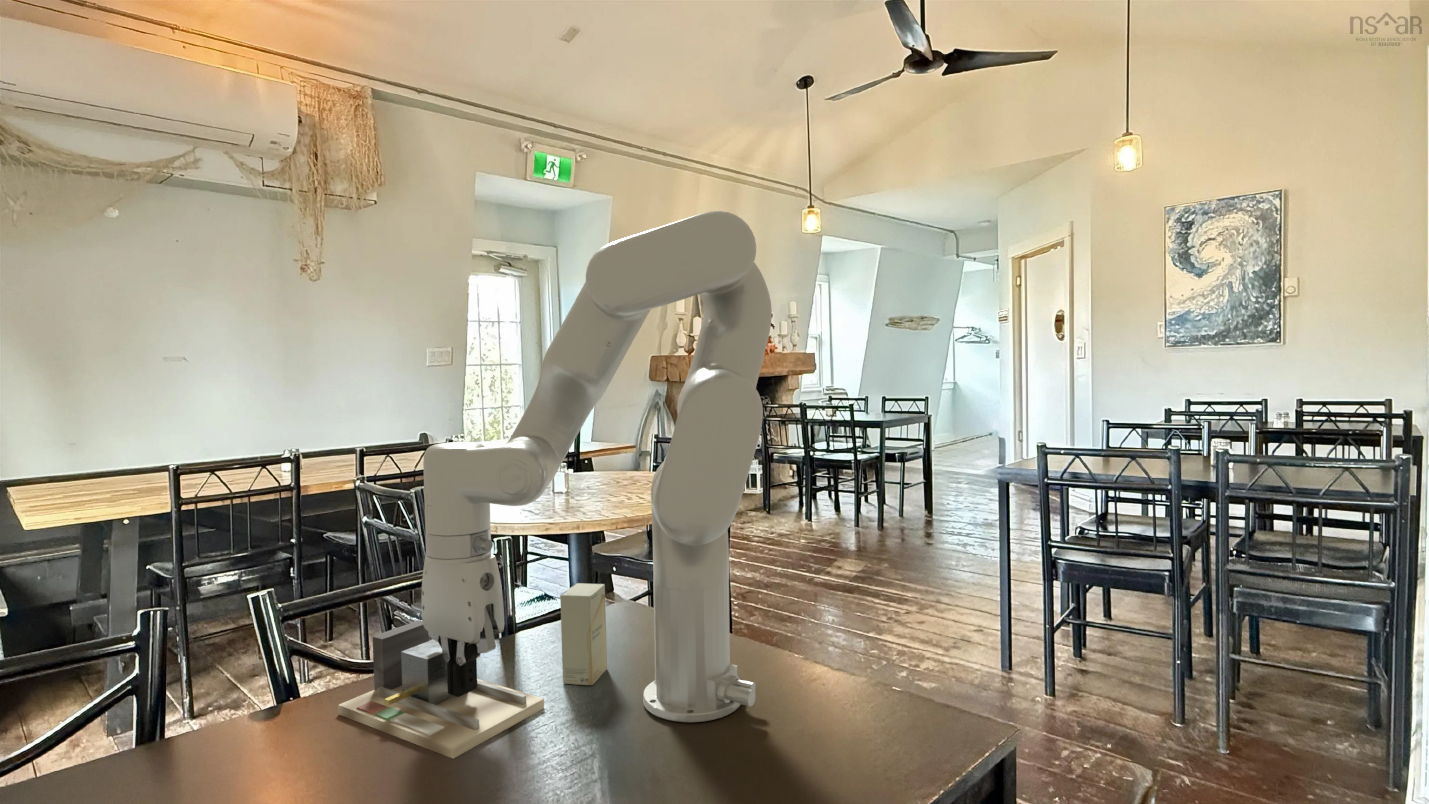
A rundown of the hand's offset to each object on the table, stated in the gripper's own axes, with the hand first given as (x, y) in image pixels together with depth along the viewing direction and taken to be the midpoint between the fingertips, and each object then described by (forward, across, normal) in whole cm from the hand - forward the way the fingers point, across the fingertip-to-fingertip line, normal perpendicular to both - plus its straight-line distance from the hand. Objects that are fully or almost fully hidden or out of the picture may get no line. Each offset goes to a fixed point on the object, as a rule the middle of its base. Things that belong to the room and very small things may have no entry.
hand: (462, 691), depth 94 cm
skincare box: (+3, -6, -16) cm, 17 cm away
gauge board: (+3, +3, +1) cm, 4 cm away
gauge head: (+2, +5, +2) cm, 6 cm away
